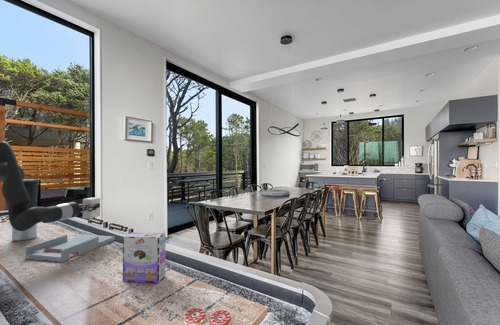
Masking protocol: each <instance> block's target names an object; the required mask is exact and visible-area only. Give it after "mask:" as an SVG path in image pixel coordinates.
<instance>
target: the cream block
mask: <svg viewBox="0 0 500 325" xmlns="http://www.w3.org/2000/svg"><path fill="white" fill-rule="evenodd" d="M98 203H99V204H100V205H101V197H94V196H93V197H88V198H83V199H82V204H83V205H85V204H90V205H92V204H98ZM87 208H88V206H87ZM100 216H101V206H100V207H99V208H97V209H96V210H93V211H90V212H88V211H85V212H82V219H93V218H98V217H100Z"/></svg>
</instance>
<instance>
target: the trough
mask: <svg viewBox="0 0 500 325" xmlns="http://www.w3.org/2000/svg"><path fill="white" fill-rule="evenodd" d="M115 240H116V239H115V236H114V235H113V236H112V235H99V234H98V235H97V234H85V233H84V234H81V235H78V236H75V237H72V238H70V239H68V234H65V235H61V236H58V237H54V238H51V239H47V240H44V241H41V242H38V243H35V244H32V245H28V246H25V250H24V251H25V252H24V257H25V258H24V259H27V260H37V261H44V260H48V261H47V262H55V261H57V262H56V263H64V262H66V260H67V261H69V260H70V259H71V257H72V258H75V257H77V256H81V255H83V254H85V253H88V252H90V251H92V250H95V249H97V248H100V247H101V246H105V245H107V244H109V243H111V242H114V241H115ZM41 250H43V251H41ZM39 251H40V252H39ZM76 255H77V256H76Z"/></svg>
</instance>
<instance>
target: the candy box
mask: <svg viewBox="0 0 500 325" xmlns="http://www.w3.org/2000/svg"><path fill="white" fill-rule="evenodd" d="M165 277H166V232H164V233H163V232H137V231H136V232H133V231H132V232H129V233H128V234H126V235H123V236H122V282H126V283H129V282H130V283H144V284H145V283H147V284H149V283H151V284H159V283H160V282H161V281H162V280H163V279H164V278H165Z"/></svg>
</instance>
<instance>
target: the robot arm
mask: <svg viewBox="0 0 500 325" xmlns="http://www.w3.org/2000/svg"><path fill="white" fill-rule="evenodd" d="M25 177H26V173H25V171H24V169H23V168H22V167H21V165H19V163H18V159H17V157H16V155H15V151H14V149H13V147H12V146H11V145H10V144H9V143H8V142H7V141H5V140H1V141H0V181H1V182H2V186H1V193H2V196H3V199H4V201H5V203H6V205H7V207H8V209H7V210H8V220H9V224H10V226H11V227H12V228H11V241H13V242H14V241H27V240H32V239H36V238H37V233H38V232H37V230H38V229H37V228H38V227H37V226H38V224H39V223H44V224H49V223H53V222H58V221H64V220H69V219H72V218H77V217H78V216H79V215H80V214H81V213H82V214H83V212H85V211H88V212H90V211H93V210H96V209H97V208H99V207H100V208H101V203H100V204H99V203H98V204H92V205H90V204H85V205H83V203H77V202H75V201H70V202H65V203H59V204H56V205H52V206H51V205H50V206H46V207H45V206H38V194H39V193H38V192H39V182H38V180H37V179H36V178H25ZM87 206H88V208H87Z"/></svg>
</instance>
